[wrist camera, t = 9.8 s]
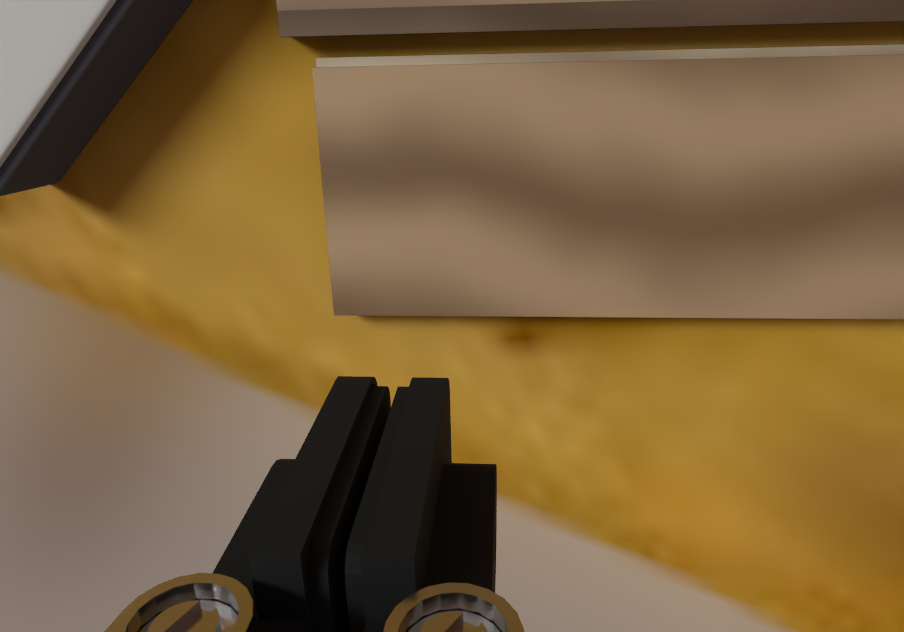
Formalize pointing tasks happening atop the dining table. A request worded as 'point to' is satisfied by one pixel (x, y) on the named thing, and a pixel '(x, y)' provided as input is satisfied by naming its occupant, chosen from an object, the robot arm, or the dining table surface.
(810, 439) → the dining table surface
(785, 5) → the laid row
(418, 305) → the plank
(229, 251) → the dining table surface
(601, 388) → the dining table surface
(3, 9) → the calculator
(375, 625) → the robot arm
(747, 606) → the dining table surface
